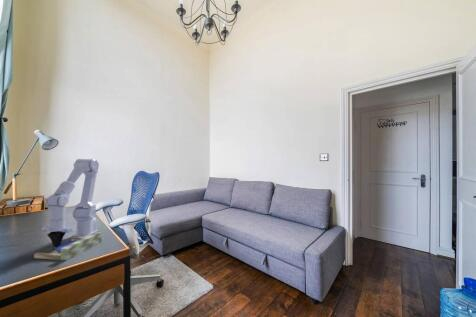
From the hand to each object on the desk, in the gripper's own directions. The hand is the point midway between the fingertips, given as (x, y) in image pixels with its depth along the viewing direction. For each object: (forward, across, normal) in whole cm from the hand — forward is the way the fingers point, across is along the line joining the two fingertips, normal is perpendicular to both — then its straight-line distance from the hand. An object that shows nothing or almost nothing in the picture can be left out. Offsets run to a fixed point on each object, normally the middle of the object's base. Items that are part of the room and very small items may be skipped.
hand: (57, 246), depth 95 cm
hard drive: (+2, +5, +1) cm, 6 cm away
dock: (+1, +7, 0) cm, 7 cm away
